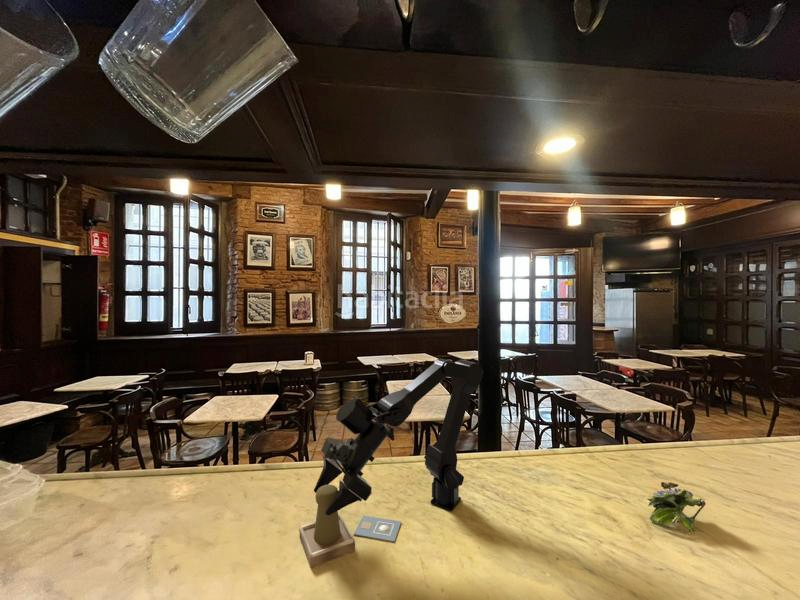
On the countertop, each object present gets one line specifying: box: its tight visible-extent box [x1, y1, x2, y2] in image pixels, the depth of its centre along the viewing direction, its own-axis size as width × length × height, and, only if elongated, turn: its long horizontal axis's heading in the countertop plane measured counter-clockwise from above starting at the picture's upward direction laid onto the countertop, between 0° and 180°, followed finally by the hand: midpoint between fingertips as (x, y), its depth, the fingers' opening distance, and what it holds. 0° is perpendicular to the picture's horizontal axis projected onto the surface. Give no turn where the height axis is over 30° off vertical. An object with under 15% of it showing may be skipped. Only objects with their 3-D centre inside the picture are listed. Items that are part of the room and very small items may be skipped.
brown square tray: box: [299, 513, 356, 568], centre depth 80 cm, size 10×10×3 cm
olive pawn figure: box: [314, 484, 341, 545], centre depth 79 cm, size 6×6×11 cm
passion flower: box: [646, 481, 706, 533], centre depth 87 cm, size 11×11×12 cm
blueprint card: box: [352, 515, 402, 543], centre depth 85 cm, size 10×7×1 cm
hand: (320, 502), depth 79 cm, fingers open, 9 cm apart
